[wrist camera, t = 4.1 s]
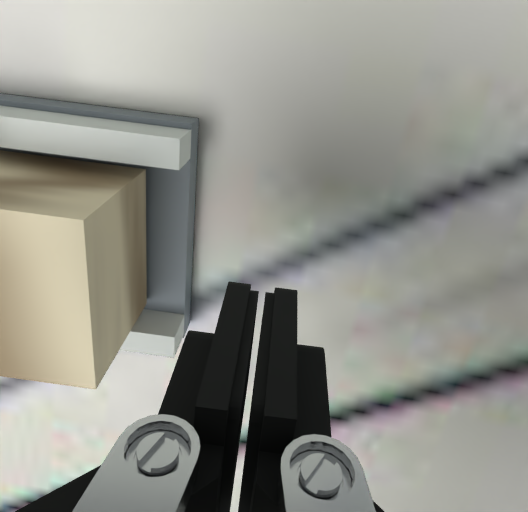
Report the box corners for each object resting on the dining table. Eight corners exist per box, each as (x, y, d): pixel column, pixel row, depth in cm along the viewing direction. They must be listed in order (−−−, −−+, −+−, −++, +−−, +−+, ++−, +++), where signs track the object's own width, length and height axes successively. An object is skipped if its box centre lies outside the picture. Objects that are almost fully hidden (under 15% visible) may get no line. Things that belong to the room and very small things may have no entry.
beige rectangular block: (145, 125, 15) (67, 167, 10) (147, 333, 19) (90, 439, 14) (-29, 103, 15) (-192, 133, 10) (7, 314, 19) (-99, 412, 14)
